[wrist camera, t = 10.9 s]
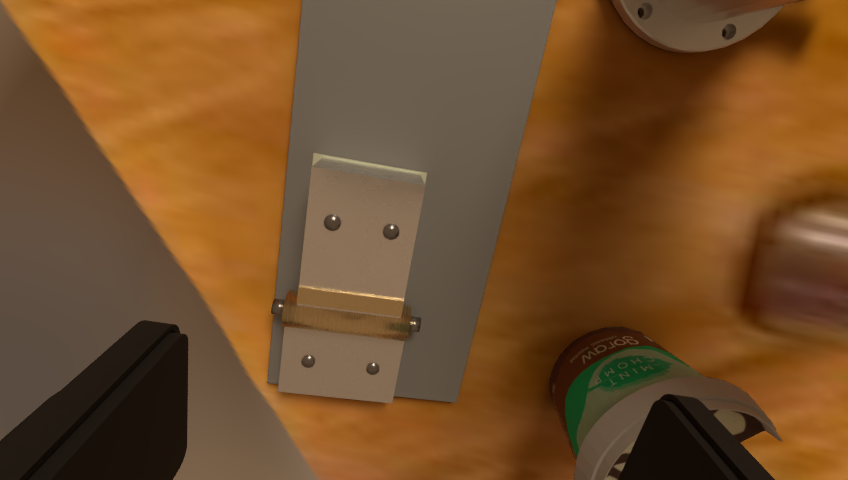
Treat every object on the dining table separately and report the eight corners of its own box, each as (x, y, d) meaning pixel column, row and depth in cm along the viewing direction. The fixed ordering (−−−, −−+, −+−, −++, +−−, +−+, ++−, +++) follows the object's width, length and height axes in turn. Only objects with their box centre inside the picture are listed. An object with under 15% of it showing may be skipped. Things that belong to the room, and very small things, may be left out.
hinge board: (551, -1, 25) (559, -5, 24) (454, 394, 33) (456, 404, 32) (311, -58, 23) (307, -67, 22) (270, 374, 31) (266, 384, 30)
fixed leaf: (421, 301, 29) (424, 317, 27) (402, 393, 32) (403, 416, 29) (279, 281, 28) (270, 297, 26) (270, 379, 30) (261, 402, 28)
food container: (647, 282, 31) (758, 360, 22) (676, 341, 33) (791, 436, 24) (504, 366, 33) (552, 473, 23) (541, 418, 35) (598, 537, 25)
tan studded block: (420, 174, 26) (425, 186, 22) (398, 290, 29) (400, 319, 25) (323, 157, 26) (311, 167, 22) (309, 277, 28) (296, 306, 24)
